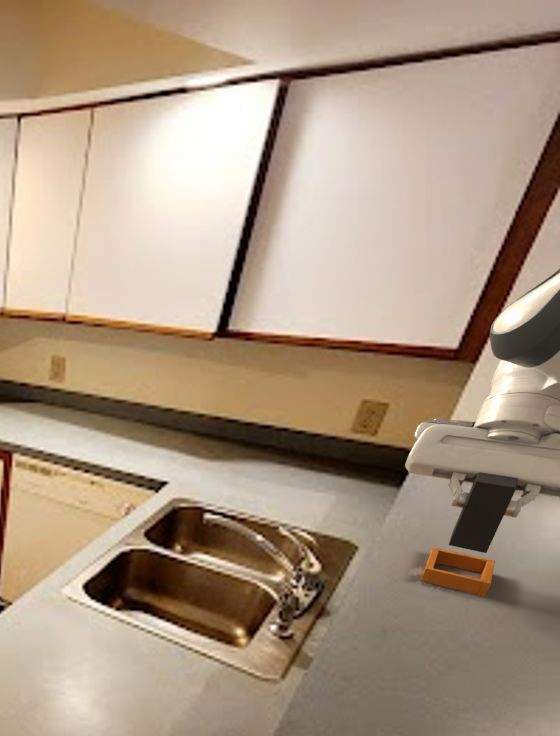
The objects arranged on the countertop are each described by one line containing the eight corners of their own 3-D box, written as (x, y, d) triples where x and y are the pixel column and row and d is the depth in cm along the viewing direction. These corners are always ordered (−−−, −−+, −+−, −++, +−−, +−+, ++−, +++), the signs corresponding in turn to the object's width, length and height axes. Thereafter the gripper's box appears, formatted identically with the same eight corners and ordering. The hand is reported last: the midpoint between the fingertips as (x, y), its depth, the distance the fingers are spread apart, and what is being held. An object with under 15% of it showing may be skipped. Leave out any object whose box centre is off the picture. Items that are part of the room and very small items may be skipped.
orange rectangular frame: (490, 580, 95) (500, 559, 93) (484, 610, 88) (495, 587, 86) (421, 564, 100) (429, 544, 98) (411, 591, 93) (420, 569, 92)
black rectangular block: (489, 538, 91) (518, 475, 87) (486, 553, 88) (516, 487, 83) (452, 531, 94) (479, 469, 90) (448, 545, 90) (475, 481, 86)
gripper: (425, 405, 94) (393, 483, 93) (631, 427, 81) (598, 519, 79) (418, 427, 99) (387, 502, 97) (612, 451, 86) (580, 538, 84)
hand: (483, 510), depth 88 cm, fingers closed on black rectangular block, 4 cm apart
